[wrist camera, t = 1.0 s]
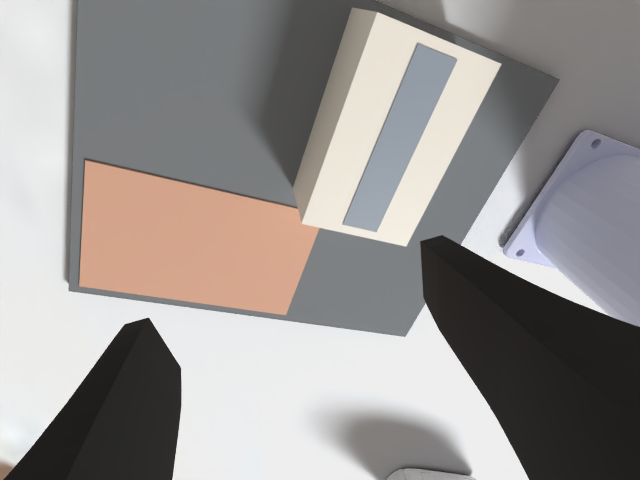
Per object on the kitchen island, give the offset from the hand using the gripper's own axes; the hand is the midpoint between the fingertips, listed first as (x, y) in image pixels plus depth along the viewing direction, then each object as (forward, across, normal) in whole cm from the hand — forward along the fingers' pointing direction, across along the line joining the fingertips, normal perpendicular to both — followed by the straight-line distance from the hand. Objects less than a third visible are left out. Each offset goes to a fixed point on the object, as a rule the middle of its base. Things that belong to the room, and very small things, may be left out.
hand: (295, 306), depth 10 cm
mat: (+10, -1, +2) cm, 10 cm away
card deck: (+10, -5, -1) cm, 11 cm away
